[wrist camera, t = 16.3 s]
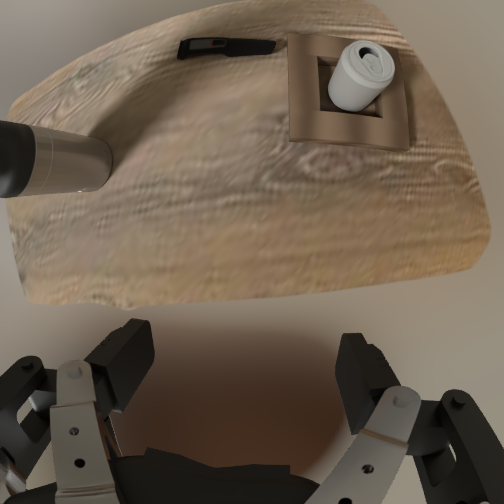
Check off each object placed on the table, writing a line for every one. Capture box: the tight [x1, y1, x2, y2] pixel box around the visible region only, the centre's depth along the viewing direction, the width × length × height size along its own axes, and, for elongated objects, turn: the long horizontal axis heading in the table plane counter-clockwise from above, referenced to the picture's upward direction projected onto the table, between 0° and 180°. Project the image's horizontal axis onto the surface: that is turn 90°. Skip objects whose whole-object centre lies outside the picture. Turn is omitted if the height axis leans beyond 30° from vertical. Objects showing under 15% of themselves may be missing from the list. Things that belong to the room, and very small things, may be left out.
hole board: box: [287, 33, 410, 153], centre depth 31 cm, size 17×17×3 cm
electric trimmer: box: [177, 37, 276, 60], centre depth 32 cm, size 4×16×3 cm, turn 83°
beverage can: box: [328, 40, 395, 112], centre depth 27 cm, size 6×6×12 cm
